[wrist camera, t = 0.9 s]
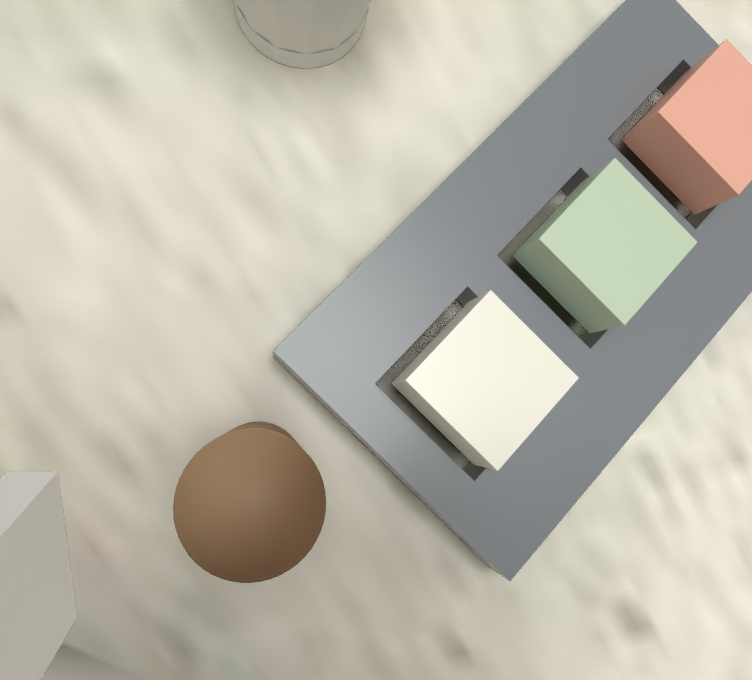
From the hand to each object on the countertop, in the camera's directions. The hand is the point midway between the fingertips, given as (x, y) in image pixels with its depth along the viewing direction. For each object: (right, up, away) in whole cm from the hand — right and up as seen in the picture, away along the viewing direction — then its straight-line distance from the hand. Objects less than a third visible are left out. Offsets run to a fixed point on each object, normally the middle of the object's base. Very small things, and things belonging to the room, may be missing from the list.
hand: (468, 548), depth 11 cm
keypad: (+8, +7, +22) cm, 24 cm away
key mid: (+8, +7, +19) cm, 22 cm away
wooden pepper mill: (-7, -2, +19) cm, 20 cm away
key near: (+3, +2, +18) cm, 18 cm away
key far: (+14, +13, +21) cm, 28 cm away
